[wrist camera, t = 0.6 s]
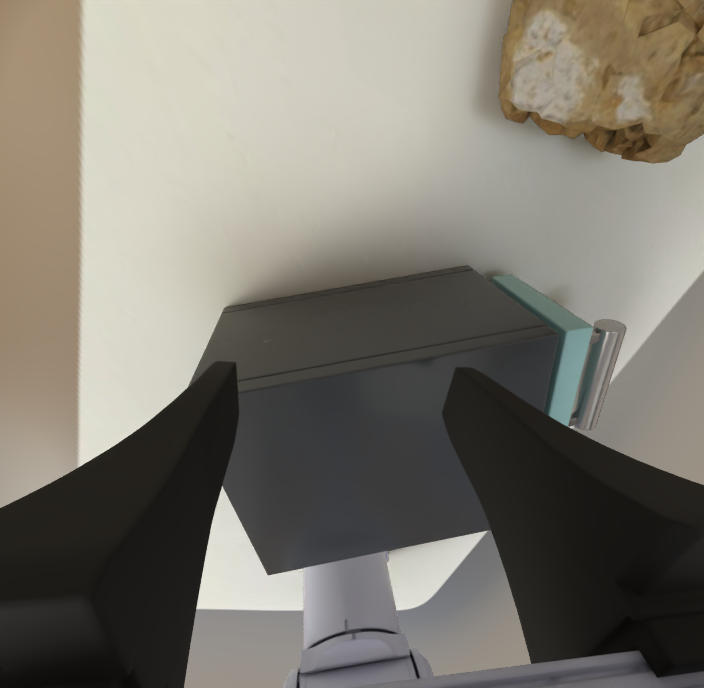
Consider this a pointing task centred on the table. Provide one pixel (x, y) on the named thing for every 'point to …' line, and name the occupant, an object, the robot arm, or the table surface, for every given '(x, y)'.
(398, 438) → the compartment
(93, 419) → the table surface
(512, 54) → the tan lumpy rounded piece
